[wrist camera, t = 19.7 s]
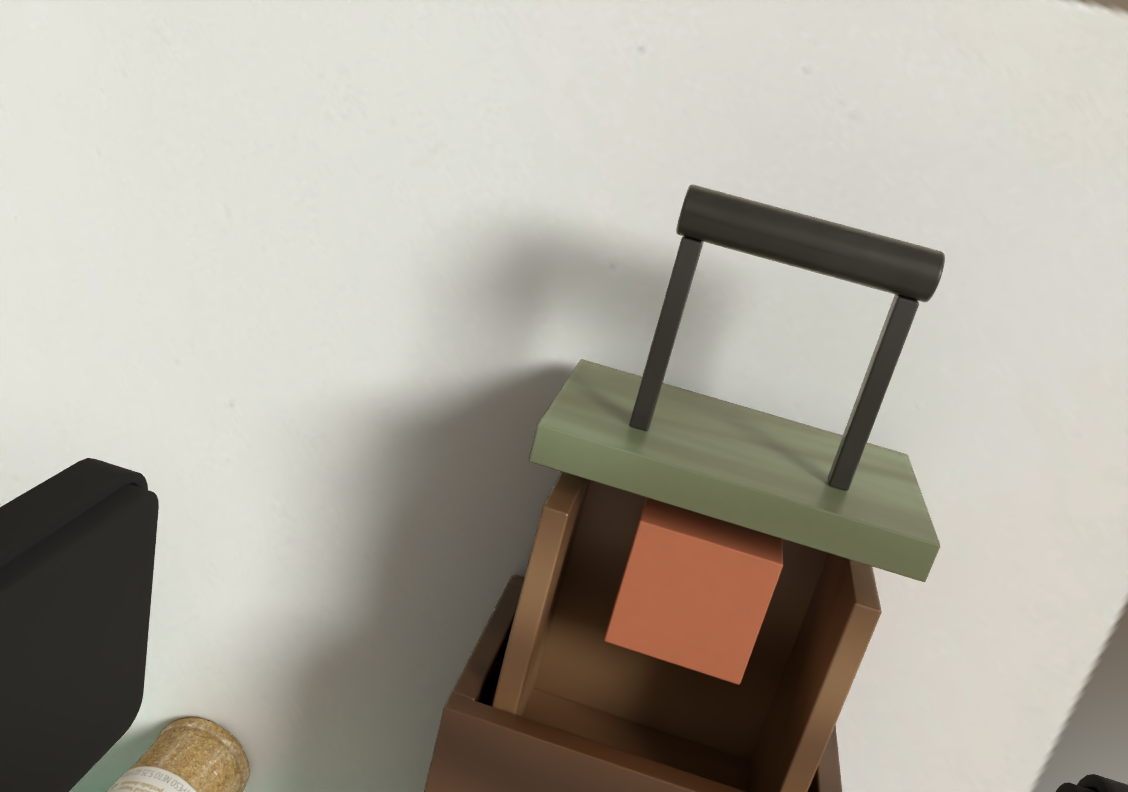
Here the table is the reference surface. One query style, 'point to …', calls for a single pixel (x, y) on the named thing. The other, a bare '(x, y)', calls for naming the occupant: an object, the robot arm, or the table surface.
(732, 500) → the drawer
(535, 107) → the table surface
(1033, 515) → the table surface
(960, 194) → the table surface
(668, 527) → the block
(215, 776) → the sprinkles bottle
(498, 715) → the cabinet
